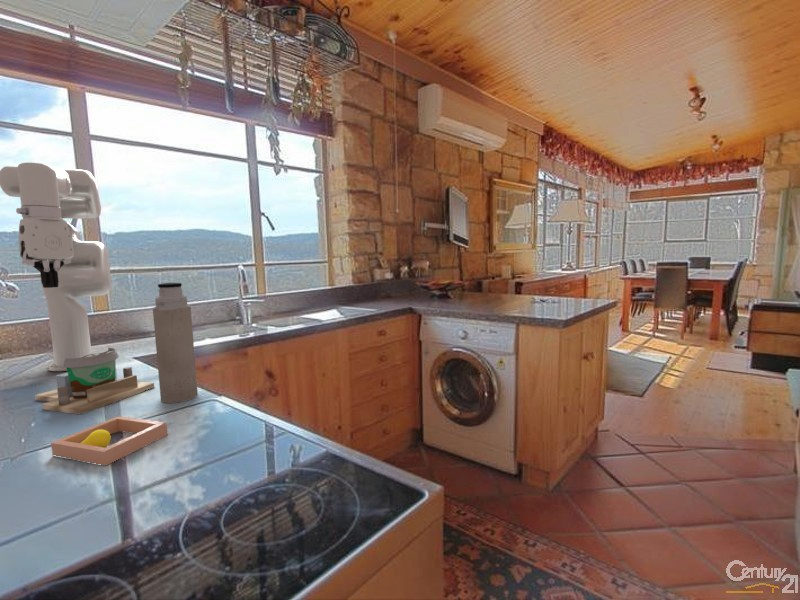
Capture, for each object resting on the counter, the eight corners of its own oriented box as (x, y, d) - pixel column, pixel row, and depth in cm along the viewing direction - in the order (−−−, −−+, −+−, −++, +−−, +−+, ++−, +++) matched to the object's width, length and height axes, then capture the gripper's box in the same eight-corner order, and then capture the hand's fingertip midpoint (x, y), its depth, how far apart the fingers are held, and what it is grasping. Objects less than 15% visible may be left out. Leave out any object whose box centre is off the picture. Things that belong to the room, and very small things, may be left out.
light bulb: (116, 446, 76) (108, 432, 75) (77, 465, 73) (68, 451, 71) (111, 435, 79) (104, 422, 77) (74, 454, 75) (65, 440, 73)
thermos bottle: (182, 390, 107) (173, 281, 104) (205, 394, 104) (196, 281, 101) (153, 400, 100) (142, 284, 97) (176, 405, 97) (165, 284, 94)
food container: (88, 402, 97) (83, 359, 95) (67, 400, 98) (62, 359, 97) (133, 385, 108) (129, 347, 107) (114, 384, 110) (110, 347, 109)
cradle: (16, 405, 99) (13, 384, 98) (96, 381, 117) (94, 363, 116) (80, 414, 92) (77, 391, 92) (154, 387, 110) (152, 368, 110)
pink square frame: (52, 456, 73) (51, 442, 73) (119, 427, 84) (118, 416, 84) (105, 466, 69) (103, 451, 69) (167, 434, 81) (166, 422, 80)
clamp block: (58, 395, 101) (55, 375, 100) (99, 383, 110) (97, 364, 110) (66, 396, 100) (64, 376, 99) (107, 384, 109) (105, 365, 109)
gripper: (17, 211, 97) (27, 290, 99) (83, 216, 111) (90, 285, 113) (-4, 213, 99) (6, 290, 101) (63, 217, 114) (70, 285, 116)
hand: (50, 287), depth 107 cm, fingers closed
